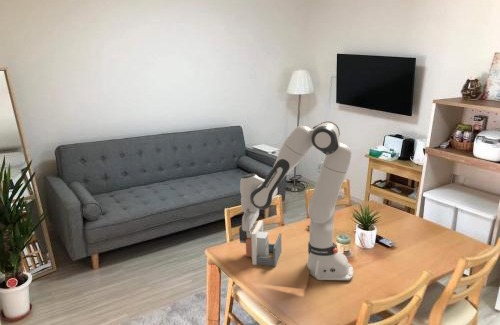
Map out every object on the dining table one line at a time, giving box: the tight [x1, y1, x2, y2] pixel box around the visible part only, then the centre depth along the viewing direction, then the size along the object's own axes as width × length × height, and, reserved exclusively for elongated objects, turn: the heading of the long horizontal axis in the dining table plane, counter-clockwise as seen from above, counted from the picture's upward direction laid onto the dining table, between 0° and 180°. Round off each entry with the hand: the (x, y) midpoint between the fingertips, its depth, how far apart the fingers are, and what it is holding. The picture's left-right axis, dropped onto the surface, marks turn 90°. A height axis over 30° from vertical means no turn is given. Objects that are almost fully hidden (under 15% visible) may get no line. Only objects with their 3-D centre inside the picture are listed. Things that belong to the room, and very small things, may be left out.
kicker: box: [238, 225, 253, 258], centre depth 196 cm, size 7×5×14 cm
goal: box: [251, 220, 282, 268], centre depth 193 cm, size 12×16×16 cm
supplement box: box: [251, 231, 270, 257], centre depth 194 cm, size 7×7×13 cm
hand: (251, 231), depth 193 cm, fingers open, 8 cm apart
